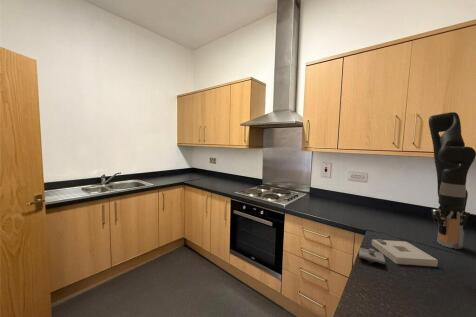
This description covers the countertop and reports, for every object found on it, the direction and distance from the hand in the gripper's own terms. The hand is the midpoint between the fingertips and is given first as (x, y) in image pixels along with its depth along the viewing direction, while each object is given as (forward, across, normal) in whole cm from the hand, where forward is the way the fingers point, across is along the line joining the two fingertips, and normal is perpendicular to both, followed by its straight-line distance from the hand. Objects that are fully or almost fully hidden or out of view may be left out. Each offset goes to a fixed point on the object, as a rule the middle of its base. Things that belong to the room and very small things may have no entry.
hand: (447, 234), depth 85 cm
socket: (+17, +7, -14) cm, 23 cm away
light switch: (+17, +26, -7) cm, 32 cm away
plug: (+3, 0, 0) cm, 3 cm away
